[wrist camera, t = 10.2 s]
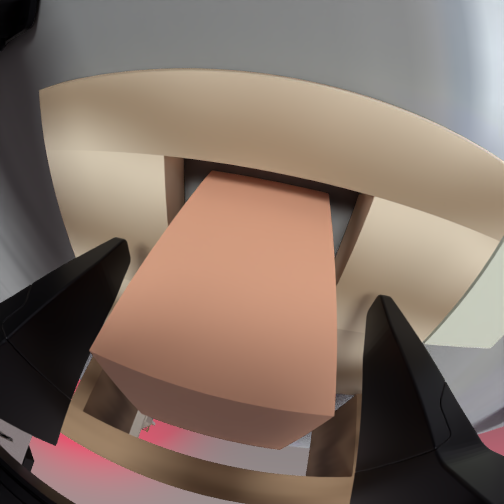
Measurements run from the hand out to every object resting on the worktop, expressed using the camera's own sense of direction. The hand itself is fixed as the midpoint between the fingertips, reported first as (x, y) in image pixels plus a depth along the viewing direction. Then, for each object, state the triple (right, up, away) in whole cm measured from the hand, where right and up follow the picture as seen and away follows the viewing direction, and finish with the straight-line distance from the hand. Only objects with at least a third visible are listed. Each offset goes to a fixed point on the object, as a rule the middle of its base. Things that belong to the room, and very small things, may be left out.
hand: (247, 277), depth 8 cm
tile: (+13, -1, +1) cm, 13 cm away
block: (+1, +2, +2) cm, 3 cm away
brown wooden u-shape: (-1, -10, +9) cm, 13 cm away
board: (0, 0, +3) cm, 3 cm away
